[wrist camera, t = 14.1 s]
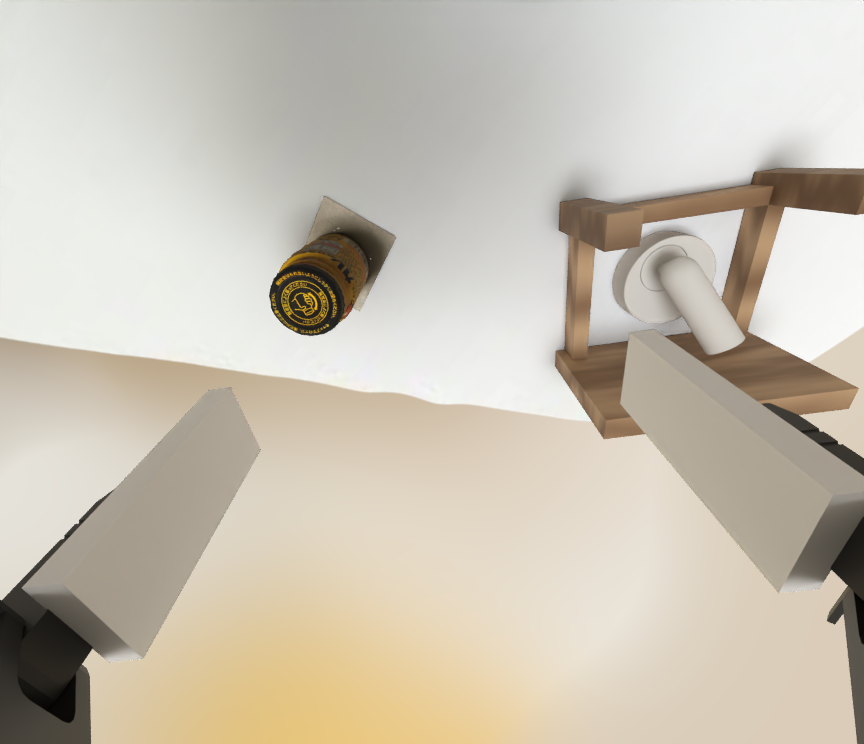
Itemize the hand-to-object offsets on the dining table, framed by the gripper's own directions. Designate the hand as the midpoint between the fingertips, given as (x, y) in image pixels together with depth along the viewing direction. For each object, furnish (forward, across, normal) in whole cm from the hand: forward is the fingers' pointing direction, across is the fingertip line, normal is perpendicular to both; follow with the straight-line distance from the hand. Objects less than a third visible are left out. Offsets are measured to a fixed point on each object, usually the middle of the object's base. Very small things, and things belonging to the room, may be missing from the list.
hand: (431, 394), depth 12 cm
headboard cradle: (+27, +23, -7) cm, 36 cm away
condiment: (+27, -8, 0) cm, 28 cm away
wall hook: (+27, +23, -7) cm, 36 cm away
